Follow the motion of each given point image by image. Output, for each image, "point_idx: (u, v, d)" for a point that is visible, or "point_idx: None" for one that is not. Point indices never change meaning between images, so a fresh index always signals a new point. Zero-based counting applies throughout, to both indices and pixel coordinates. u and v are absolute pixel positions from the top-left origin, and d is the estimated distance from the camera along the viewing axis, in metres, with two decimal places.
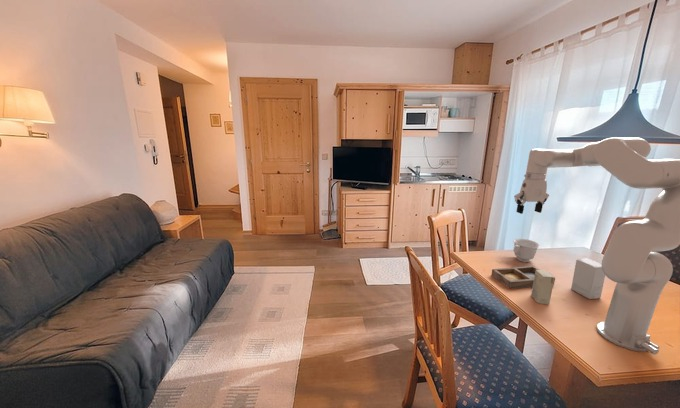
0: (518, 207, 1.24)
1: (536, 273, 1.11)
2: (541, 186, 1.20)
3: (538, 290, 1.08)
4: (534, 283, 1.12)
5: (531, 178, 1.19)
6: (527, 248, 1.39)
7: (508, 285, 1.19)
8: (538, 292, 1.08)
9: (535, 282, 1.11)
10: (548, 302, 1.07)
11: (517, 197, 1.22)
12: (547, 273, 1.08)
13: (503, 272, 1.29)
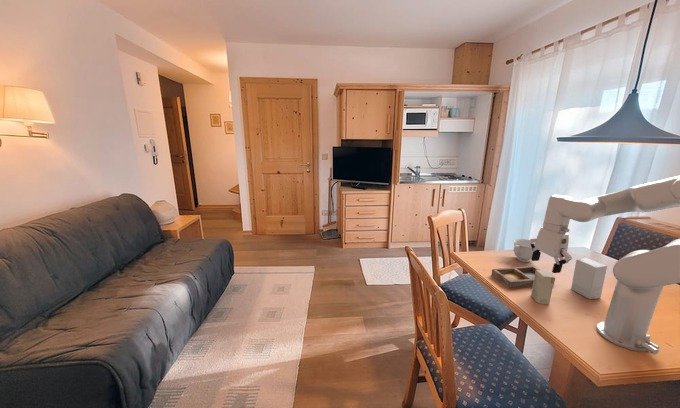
0: (559, 267, 1.01)
1: (536, 273, 1.11)
2: None
3: (538, 291, 1.08)
4: (534, 283, 1.12)
5: None
6: (527, 248, 1.39)
7: (508, 285, 1.19)
8: (538, 292, 1.08)
9: (535, 282, 1.11)
10: (548, 302, 1.07)
11: None
12: (547, 273, 1.08)
13: (503, 272, 1.29)
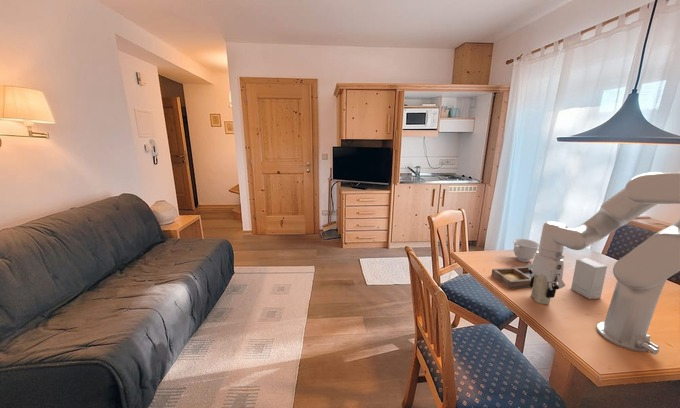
0: (553, 292, 1.05)
1: None
2: None
3: (538, 290, 1.08)
4: (534, 283, 1.12)
5: None
6: (527, 248, 1.39)
7: (508, 285, 1.19)
8: (538, 292, 1.08)
9: (535, 282, 1.11)
10: (548, 302, 1.07)
11: None
12: None
13: (503, 272, 1.29)
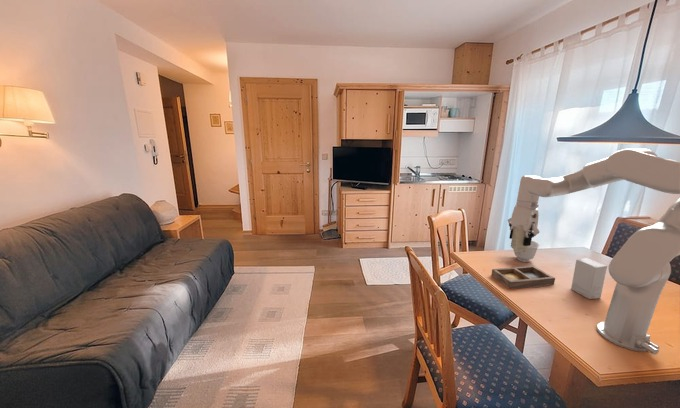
0: (529, 240, 1.14)
1: None
2: None
3: (516, 240, 1.18)
4: (513, 234, 1.21)
5: None
6: (527, 248, 1.39)
7: (508, 285, 1.19)
8: (516, 241, 1.18)
9: (514, 233, 1.20)
10: (525, 250, 1.17)
11: None
12: None
13: (503, 272, 1.29)
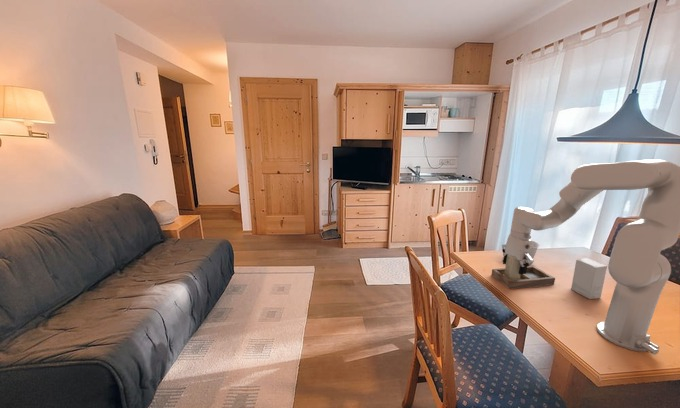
0: (524, 269, 1.17)
1: (508, 255, 1.25)
2: None
3: (510, 270, 1.23)
4: (506, 264, 1.26)
5: None
6: None
7: (508, 285, 1.19)
8: (509, 272, 1.23)
9: (507, 263, 1.25)
10: None
11: None
12: None
13: (503, 272, 1.29)
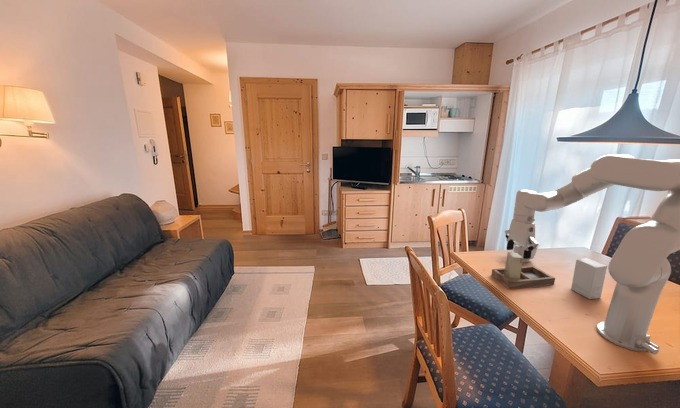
0: (529, 253, 1.15)
1: (508, 255, 1.25)
2: None
3: (509, 270, 1.23)
4: (506, 264, 1.26)
5: None
6: None
7: (508, 285, 1.19)
8: (509, 272, 1.23)
9: (507, 263, 1.25)
10: None
11: None
12: (517, 255, 1.22)
13: (503, 272, 1.29)
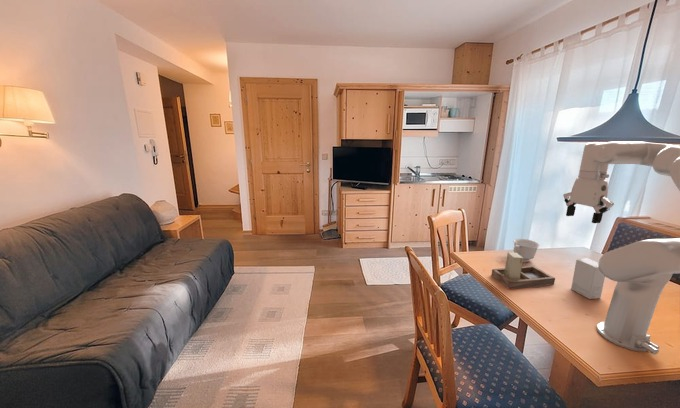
0: (600, 216, 0.98)
1: (508, 255, 1.25)
2: None
3: (509, 270, 1.23)
4: (506, 264, 1.26)
5: None
6: (527, 248, 1.39)
7: (508, 285, 1.19)
8: (509, 272, 1.23)
9: (507, 263, 1.25)
10: None
11: None
12: (517, 255, 1.22)
13: (503, 272, 1.29)
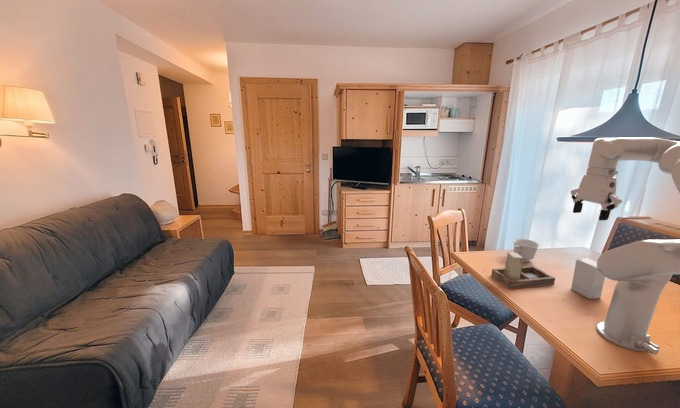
0: (607, 213, 0.96)
1: (508, 255, 1.25)
2: None
3: (509, 270, 1.23)
4: (506, 264, 1.26)
5: (613, 174, 0.95)
6: (527, 248, 1.39)
7: (508, 285, 1.19)
8: (509, 272, 1.23)
9: (507, 263, 1.25)
10: None
11: None
12: (517, 255, 1.22)
13: (503, 272, 1.29)
